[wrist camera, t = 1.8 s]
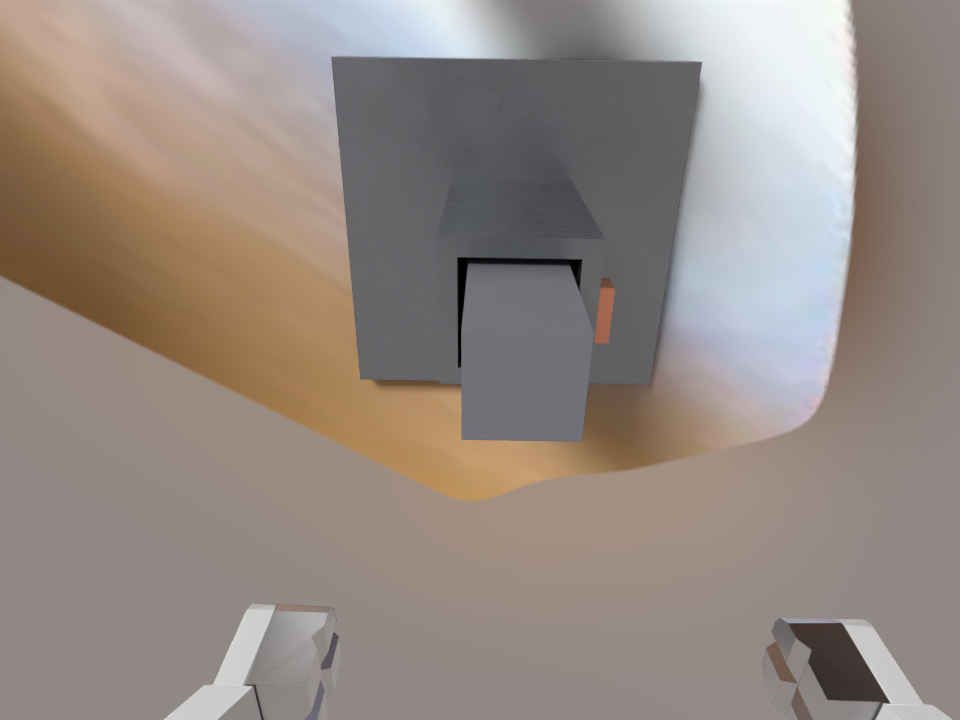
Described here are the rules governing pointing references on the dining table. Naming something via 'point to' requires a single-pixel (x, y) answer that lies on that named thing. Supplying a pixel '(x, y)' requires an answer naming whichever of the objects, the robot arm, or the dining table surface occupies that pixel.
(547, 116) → the stand
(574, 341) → the post
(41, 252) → the dining table surface
